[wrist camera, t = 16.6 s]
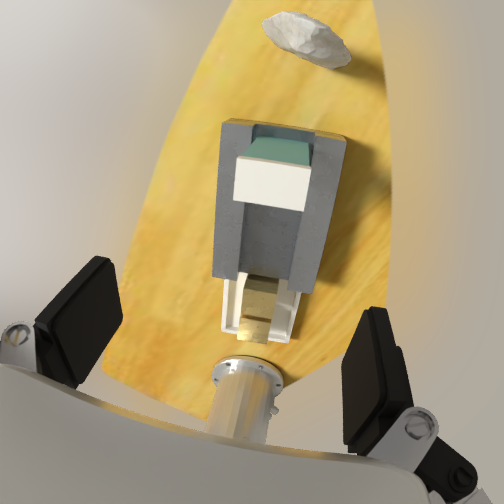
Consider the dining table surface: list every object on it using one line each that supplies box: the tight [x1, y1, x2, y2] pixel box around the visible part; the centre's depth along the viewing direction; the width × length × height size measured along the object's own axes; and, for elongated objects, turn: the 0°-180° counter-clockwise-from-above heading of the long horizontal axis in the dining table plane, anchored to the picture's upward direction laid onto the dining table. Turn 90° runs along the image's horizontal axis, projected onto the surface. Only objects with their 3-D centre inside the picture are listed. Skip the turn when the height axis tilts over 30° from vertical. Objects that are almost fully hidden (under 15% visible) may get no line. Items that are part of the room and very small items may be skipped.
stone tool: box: [262, 11, 352, 69], centre depth 21 cm, size 8×3×15 cm, turn 69°
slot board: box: [212, 118, 347, 294], centre depth 35 cm, size 18×12×4 cm, turn 174°
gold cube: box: [241, 273, 279, 319], centre depth 40 cm, size 4×4×4 cm
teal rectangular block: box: [233, 135, 311, 212], centre depth 27 cm, size 3×5×11 cm, turn 84°
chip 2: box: [237, 314, 272, 344], centre depth 42 cm, size 4×4×4 cm
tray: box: [221, 272, 301, 343], centre depth 43 cm, size 11×10×2 cm
